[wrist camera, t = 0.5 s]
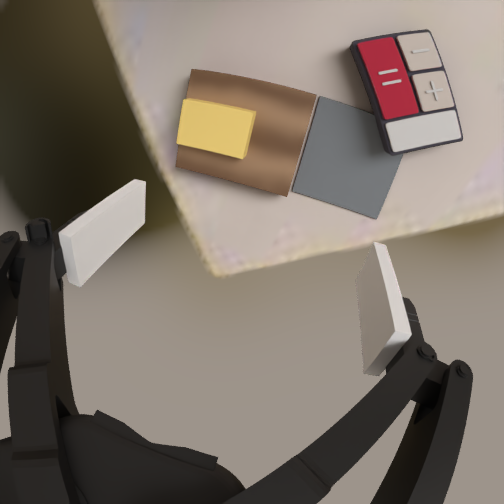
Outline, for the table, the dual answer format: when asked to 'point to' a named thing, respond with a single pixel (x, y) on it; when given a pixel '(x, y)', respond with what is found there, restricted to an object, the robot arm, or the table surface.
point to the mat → (346, 160)
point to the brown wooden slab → (253, 130)
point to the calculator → (408, 91)
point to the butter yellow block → (215, 127)
